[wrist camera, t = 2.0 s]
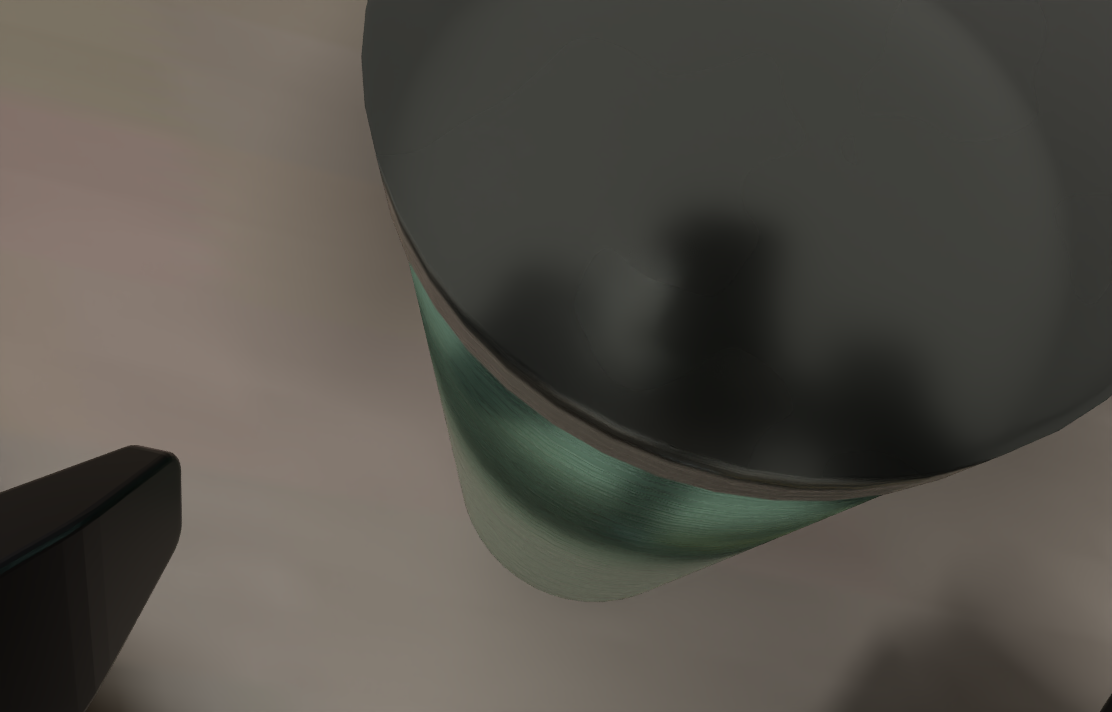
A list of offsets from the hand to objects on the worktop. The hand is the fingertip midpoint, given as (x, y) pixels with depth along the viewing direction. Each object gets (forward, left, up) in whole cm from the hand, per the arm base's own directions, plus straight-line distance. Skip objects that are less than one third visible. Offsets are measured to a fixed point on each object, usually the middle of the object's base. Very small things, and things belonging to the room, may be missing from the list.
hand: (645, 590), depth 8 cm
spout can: (+4, +3, -11) cm, 12 cm away
